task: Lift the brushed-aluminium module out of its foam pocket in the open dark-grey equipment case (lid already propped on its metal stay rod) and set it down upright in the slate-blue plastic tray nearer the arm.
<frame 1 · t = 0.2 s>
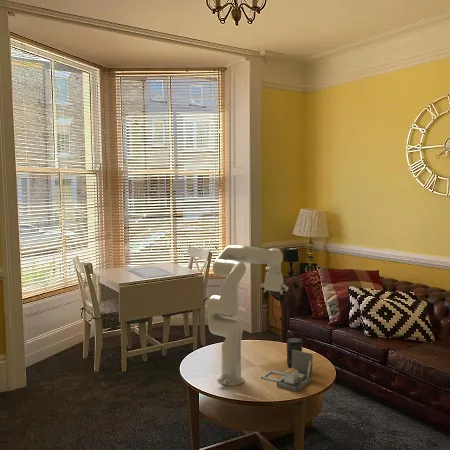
hand: (274, 300, 274), 31 cm above the table, fingers open, 9 cm apart
case: (294, 384, 236), on the table
camera lens: (294, 367, 256), on the table
module: (290, 385, 232), point 1 cm above the table, touching case
tray: (274, 377, 243), on the table
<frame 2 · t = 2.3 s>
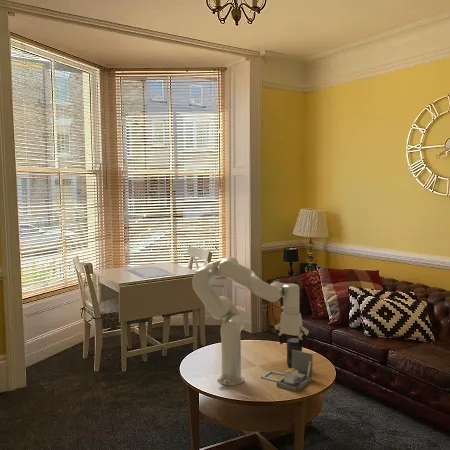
hand: (291, 345, 231), 21 cm above the table, fingers open, 9 cm apart
nothing on the table moved.
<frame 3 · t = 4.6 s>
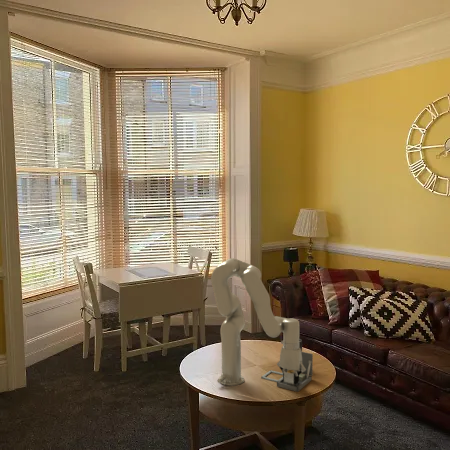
hand: (291, 381, 232), 3 cm above the table, fingers closed on module, 5 cm apart
module: (290, 385, 232), point 1 cm above the table, touching case, gripper
everything else where it was.
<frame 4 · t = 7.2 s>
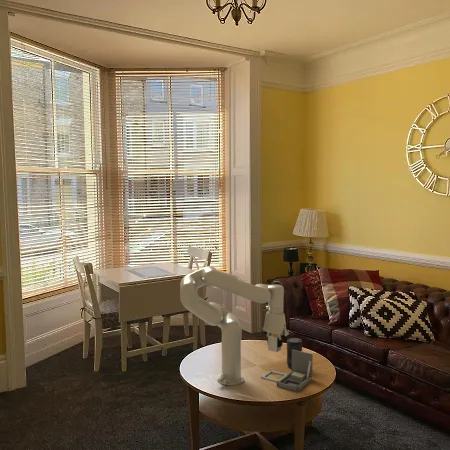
hand: (274, 345, 241), 17 cm above the table, fingers closed on module, 5 cm apart
module: (274, 349, 241), point 15 cm above the table, touching gripper
everything else where it was.
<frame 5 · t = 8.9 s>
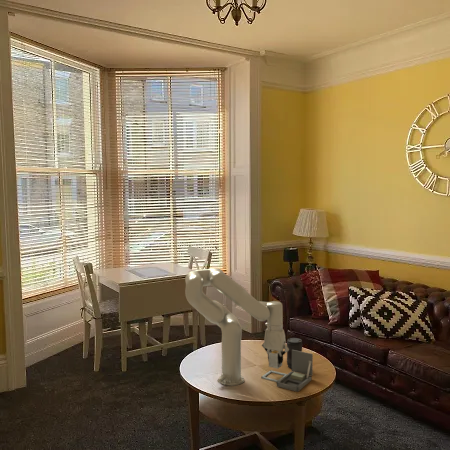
hand: (275, 361, 242), 8 cm above the table, fingers closed on module, 5 cm apart
module: (275, 365, 243), point 6 cm above the table, touching gripper
everything else where it was.
when the fingers open (4 cm above the table, at t = 10.1 s): module drops 1 cm, resting on tray.
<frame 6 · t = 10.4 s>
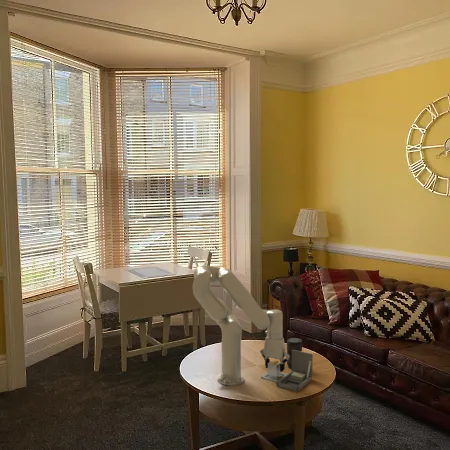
hand: (274, 369, 243), 5 cm above the table, fingers open, 7 cm apart
module: (274, 376, 243), resting on tray
everything else where it was.
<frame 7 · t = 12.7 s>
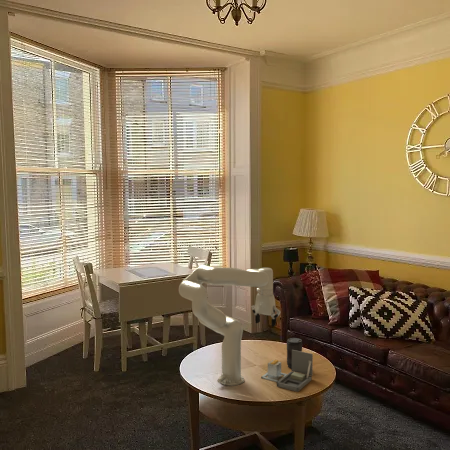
hand: (265, 324, 251), 24 cm above the table, fingers open, 9 cm apart
nothing on the table moved.
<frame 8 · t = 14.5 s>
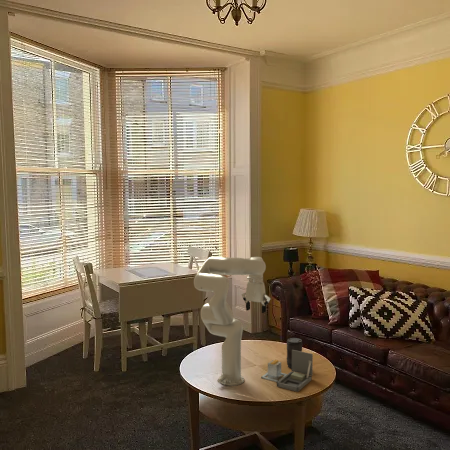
hand: (255, 311, 262), 28 cm above the table, fingers open, 9 cm apart
nothing on the table moved.
at the end: module inside the target area on the tray (0.1 cm from its centre), point 0.5 cm above the tray's base; module tilted 0°; the gripper is holding nothing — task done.
